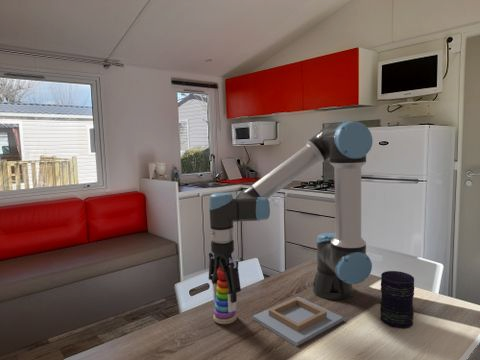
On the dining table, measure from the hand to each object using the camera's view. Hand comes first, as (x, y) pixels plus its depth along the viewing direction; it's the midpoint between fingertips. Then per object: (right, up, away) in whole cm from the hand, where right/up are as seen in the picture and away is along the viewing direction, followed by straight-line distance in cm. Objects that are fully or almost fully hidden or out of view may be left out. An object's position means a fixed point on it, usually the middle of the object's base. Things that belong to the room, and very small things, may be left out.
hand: (224, 305), depth 117 cm
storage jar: (+56, -4, -4) cm, 56 cm away
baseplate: (+24, -4, -1) cm, 25 cm away
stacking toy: (0, -5, +1) cm, 5 cm away
